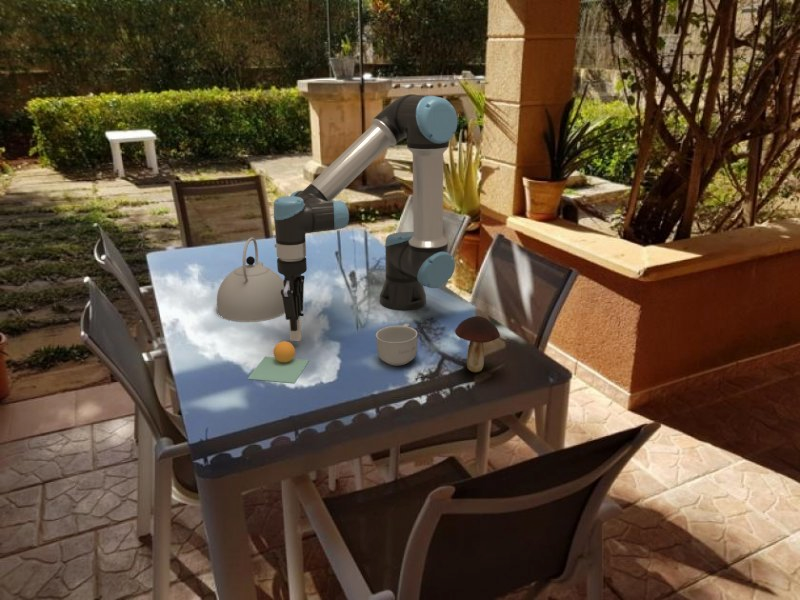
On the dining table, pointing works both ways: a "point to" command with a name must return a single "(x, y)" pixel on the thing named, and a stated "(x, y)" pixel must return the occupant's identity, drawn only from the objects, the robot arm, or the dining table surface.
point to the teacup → (397, 344)
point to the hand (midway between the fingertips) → (296, 339)
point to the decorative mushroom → (476, 339)
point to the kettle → (251, 292)
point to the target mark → (278, 370)
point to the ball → (284, 352)
